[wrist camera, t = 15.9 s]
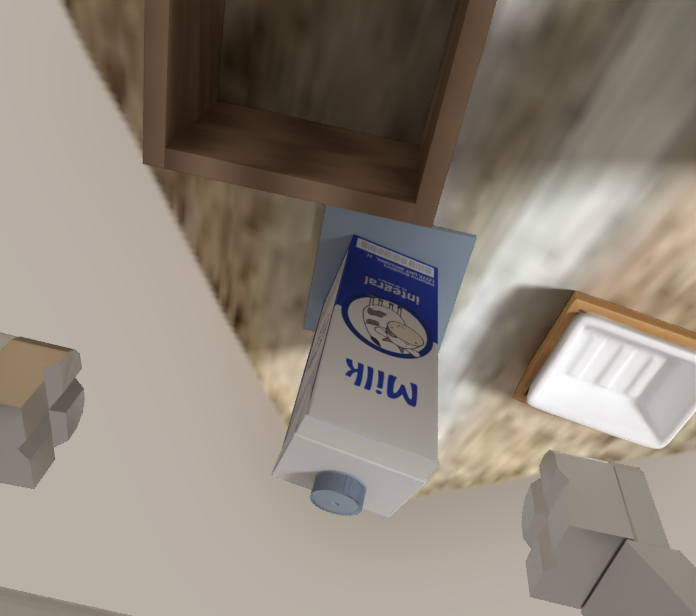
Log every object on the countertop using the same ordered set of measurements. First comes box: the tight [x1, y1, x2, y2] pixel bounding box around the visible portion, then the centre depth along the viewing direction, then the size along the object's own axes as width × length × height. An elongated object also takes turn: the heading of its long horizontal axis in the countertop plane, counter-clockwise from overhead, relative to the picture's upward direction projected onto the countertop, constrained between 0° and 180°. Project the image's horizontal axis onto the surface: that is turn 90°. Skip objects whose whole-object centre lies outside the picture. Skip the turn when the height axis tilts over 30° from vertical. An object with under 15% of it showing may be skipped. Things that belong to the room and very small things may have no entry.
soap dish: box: [513, 291, 696, 449], centre depth 48 cm, size 12×10×5 cm
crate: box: [143, 0, 497, 228], centre depth 36 cm, size 16×16×10 cm
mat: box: [303, 205, 476, 352], centre depth 49 cm, size 11×11×1 cm
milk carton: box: [272, 235, 439, 517], centre depth 41 cm, size 7×7×20 cm
